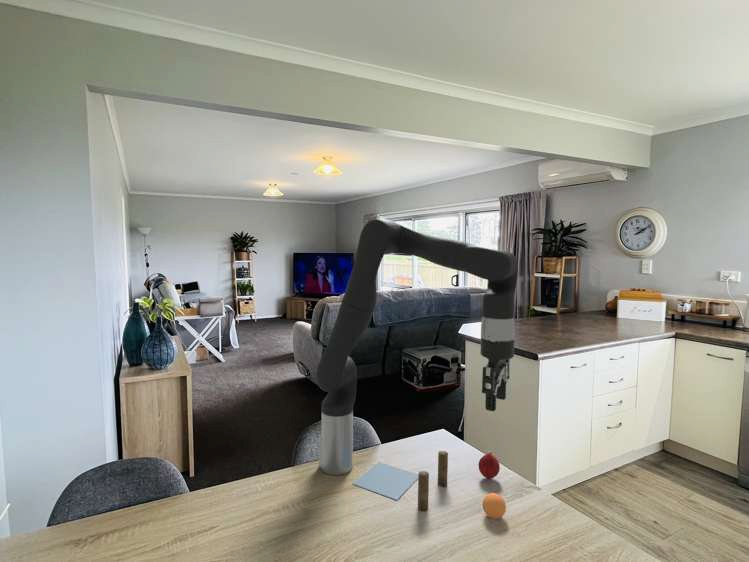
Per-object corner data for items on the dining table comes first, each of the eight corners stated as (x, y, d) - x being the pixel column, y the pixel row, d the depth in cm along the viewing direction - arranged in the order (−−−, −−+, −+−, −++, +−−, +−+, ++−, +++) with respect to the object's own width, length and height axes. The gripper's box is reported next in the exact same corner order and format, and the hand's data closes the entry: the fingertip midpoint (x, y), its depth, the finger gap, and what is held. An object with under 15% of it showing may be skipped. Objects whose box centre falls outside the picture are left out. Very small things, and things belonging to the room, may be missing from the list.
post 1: (416, 509, 105) (416, 474, 104) (420, 503, 107) (421, 469, 107) (425, 512, 104) (426, 477, 103) (429, 507, 106) (430, 472, 105)
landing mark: (352, 484, 116) (352, 483, 116) (378, 462, 128) (378, 461, 128) (397, 500, 109) (397, 499, 109) (420, 475, 120) (420, 475, 120)
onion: (500, 486, 116) (501, 458, 115) (478, 483, 117) (479, 455, 116) (498, 474, 121) (499, 448, 121) (477, 472, 123) (478, 446, 122)
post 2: (436, 485, 116) (436, 453, 115) (439, 480, 118) (440, 450, 117) (445, 488, 114) (445, 456, 114) (448, 483, 117) (449, 452, 116)
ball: (479, 518, 102) (479, 497, 101) (486, 507, 106) (486, 486, 106) (502, 526, 99) (502, 504, 98) (508, 514, 103) (508, 493, 103)
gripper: (490, 329, 106) (489, 392, 107) (471, 340, 94) (470, 411, 95) (521, 332, 102) (519, 398, 103) (505, 343, 90) (504, 418, 91)
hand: (495, 404), depth 99 cm, fingers open, 8 cm apart
